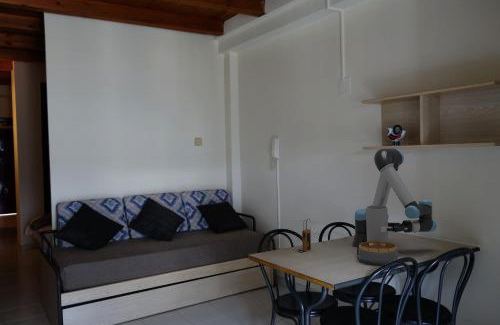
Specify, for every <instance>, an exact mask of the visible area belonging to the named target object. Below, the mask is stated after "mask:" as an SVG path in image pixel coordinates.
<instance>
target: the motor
mask: <svg viewBox="0 0 500 325" xmlns="http://www.w3.org/2000/svg"><path fill="white" fill-rule="evenodd" d="M356 255H357V256H358V261H359V263H362V264H365V265H367V266H368V265H370V266H378V267H380V266H381V267H383V266H382V265H385V264H387V263H389V262H392V261H394V260H397V259H399V256H398V255H399V253H398V245H397V244H396V243H394V242H389V241H388V242H382V241H368V242H362V243H360V244H359V247H356Z"/></svg>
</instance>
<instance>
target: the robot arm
mask: <svg viewBox="0 0 500 325" xmlns="http://www.w3.org/2000/svg"><path fill="white" fill-rule="evenodd" d="M373 160H374V164H375V166H376V168H377V170H378V172H379V177H378V182H377V184H376V185H377V186H376V189H375V193H374V197H373V202H372V203H370V205H369V206H373V205H380V206H386V207H387V204H388V199H389V195H390V192H391V189H392V190H393V192H394V194H395V195H396V197H397V198H398V200H399V202H401V204H402V206H403V208H404V214H405V216H406V217H407V218H408V219H405V220H404V219H403V220H402V222H401V223H400V222H389V221H388V227H381V232H388V233H390V232H393V233H400V232H404V233H405V234H407V233H413V234H416V233H429V232H430V233H431V232H434V231H436V230H437V226H438V225H437V221H436V220H435V219H433V201H432V200H431V199H419V201H418V202H417V200H415V198H414V196H413V195H412V193H411V192H410V191H409V189H408V187H407V186H406V184H405V182H404V181H403V180H402V178H401V176H400V175H399V173H398V171H399V167H400V166H401V165H402V164H403V163H404V161H405V157H404V154H403V152H402V151H401V150H400V149H398V148H395V147H390V148H381V149H378V150H377V151H376V152H375V154H374V157H373ZM388 219H389V215H388ZM362 242H367V226H366V208H359V209H357V210H356V211H355V212H354V237H353V240H352V246H353V247H355V248H359V244H360V243H362Z"/></svg>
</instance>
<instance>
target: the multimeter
mask: <svg viewBox="0 0 500 325" xmlns="http://www.w3.org/2000/svg"><path fill="white" fill-rule="evenodd" d="M308 220H309V221H311V219H310V218H307V219H306V221H303V222H302V228H303V230H302V231H301V236H302V237H301V238H302V239H301V243H302V245H301V246H302V247H296V249H297V250H298V252H299V253H301V254H303V253H304V252H308V251H310V250H312V240H311V238H312V233H311V232H312V231H311V228H308ZM304 223H305V226H304ZM301 249H302V252H301Z"/></svg>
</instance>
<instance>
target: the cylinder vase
mask: <svg viewBox="0 0 500 325" xmlns="http://www.w3.org/2000/svg"><path fill="white" fill-rule="evenodd" d="M365 209H366V226H367V242H368V241H382V242H389V232H381V227H388V222H389V218H388V216H389V214H388V212H389V211H388V206H387V205H386V206H380V205H373V206H370V205H369V206H365Z"/></svg>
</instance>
